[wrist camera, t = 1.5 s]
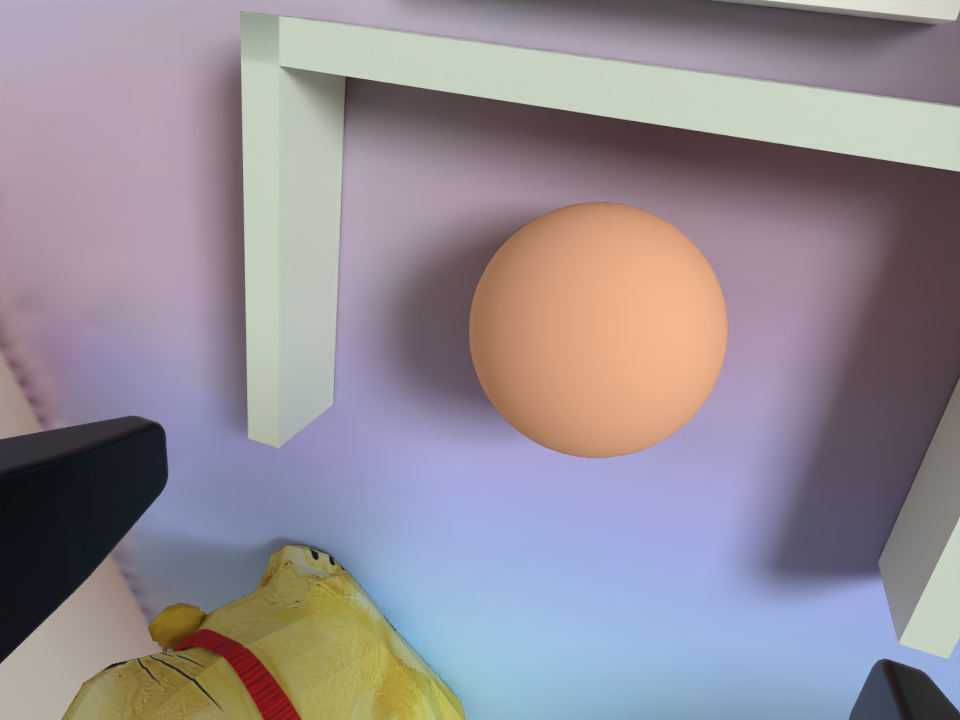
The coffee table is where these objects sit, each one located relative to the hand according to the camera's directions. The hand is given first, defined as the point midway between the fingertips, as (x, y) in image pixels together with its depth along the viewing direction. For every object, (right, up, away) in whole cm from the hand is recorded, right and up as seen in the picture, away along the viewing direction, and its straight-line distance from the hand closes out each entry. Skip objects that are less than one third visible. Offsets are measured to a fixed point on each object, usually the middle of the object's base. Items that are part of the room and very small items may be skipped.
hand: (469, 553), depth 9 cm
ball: (+3, +3, +7) cm, 8 cm away
